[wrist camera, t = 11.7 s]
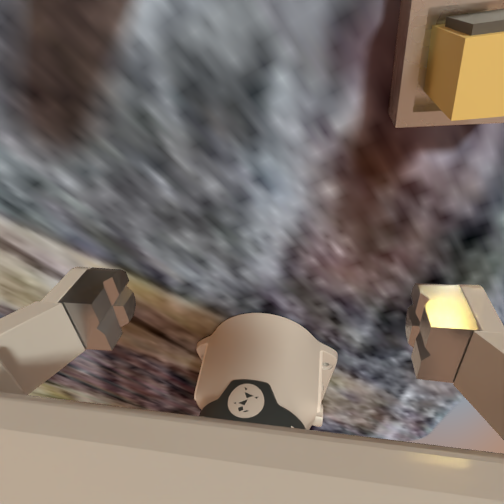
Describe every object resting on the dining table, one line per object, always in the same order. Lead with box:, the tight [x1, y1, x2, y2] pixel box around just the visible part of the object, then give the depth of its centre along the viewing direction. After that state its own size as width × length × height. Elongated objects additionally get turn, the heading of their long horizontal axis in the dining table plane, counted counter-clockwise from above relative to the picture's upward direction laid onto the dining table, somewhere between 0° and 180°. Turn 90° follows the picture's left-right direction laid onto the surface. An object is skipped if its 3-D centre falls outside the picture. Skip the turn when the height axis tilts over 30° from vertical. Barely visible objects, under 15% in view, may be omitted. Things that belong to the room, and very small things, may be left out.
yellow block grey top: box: [424, 9, 504, 121], centre depth 21 cm, size 4×4×7 cm
